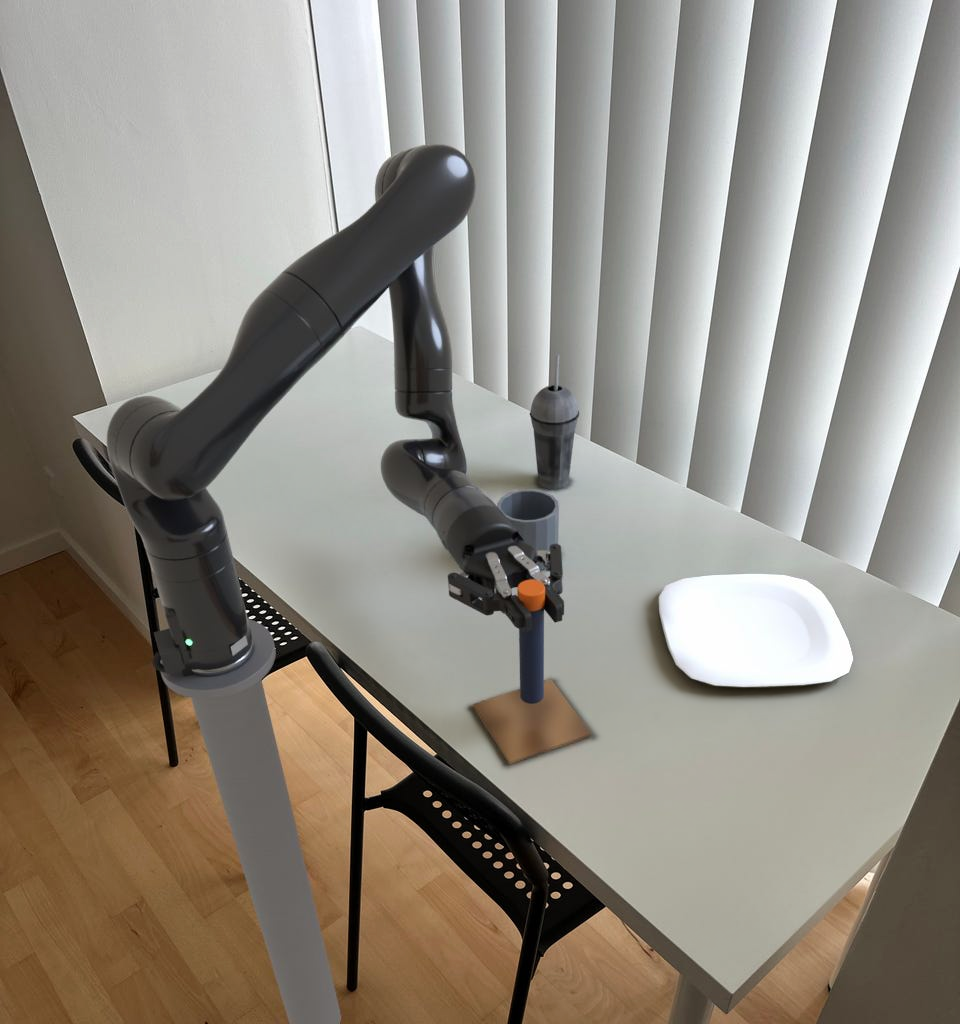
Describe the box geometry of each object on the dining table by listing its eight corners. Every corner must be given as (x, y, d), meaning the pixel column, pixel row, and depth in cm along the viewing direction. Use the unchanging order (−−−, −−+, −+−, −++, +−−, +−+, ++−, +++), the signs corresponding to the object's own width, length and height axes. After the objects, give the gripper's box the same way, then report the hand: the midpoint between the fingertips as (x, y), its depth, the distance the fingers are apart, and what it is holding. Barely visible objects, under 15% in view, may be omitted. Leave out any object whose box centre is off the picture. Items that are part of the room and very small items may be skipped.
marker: (525, 707, 107) (524, 598, 97) (515, 692, 109) (512, 583, 99) (548, 700, 108) (549, 591, 98) (537, 684, 110) (537, 576, 100)
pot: (513, 577, 132) (512, 527, 127) (489, 546, 138) (487, 498, 133) (567, 562, 134) (569, 512, 129) (541, 532, 140) (541, 484, 135)
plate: (866, 692, 113) (869, 681, 111) (677, 698, 113) (678, 687, 112) (813, 580, 129) (816, 570, 128) (649, 586, 130) (650, 576, 128)
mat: (509, 764, 106) (509, 761, 105) (472, 707, 113) (472, 704, 113) (591, 736, 109) (591, 733, 108) (550, 682, 116) (550, 678, 115)
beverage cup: (523, 490, 149) (523, 366, 137) (537, 467, 155) (537, 345, 142) (570, 497, 147) (573, 371, 135) (582, 473, 153) (586, 350, 140)
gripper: (415, 520, 106) (478, 609, 94) (532, 489, 110) (607, 570, 98) (420, 576, 111) (481, 668, 98) (532, 545, 115) (604, 629, 102)
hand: (544, 619), depth 98 cm, fingers closed on marker, 3 cm apart
